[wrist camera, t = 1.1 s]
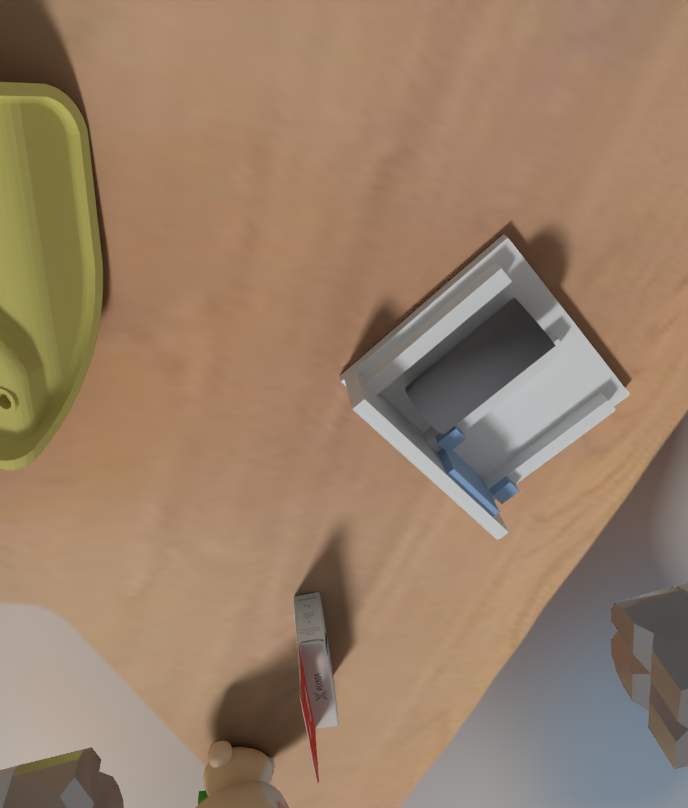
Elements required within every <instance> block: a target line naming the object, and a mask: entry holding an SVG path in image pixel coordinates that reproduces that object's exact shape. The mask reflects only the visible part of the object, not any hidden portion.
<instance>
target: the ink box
mask: <svg viewBox="0 0 688 808" xmlns="http://www.w3.org/2000/svg"><path fill="white" fill-rule="evenodd" d="M294 610H295V625H296V636H297V646H298V658H299V677H300V701H301V706H302V711H303V716H304V721H305V726H306V731H307V736H308V741H309V747H310V752H311V757H312V762H313V767H314V771H315V776H316V780H317V783H319V778H318V763H317V750H316V734H315V729H319V728H324V727H331V726H338V725H339V723H338V712H337V702H336V694H335V686H334V680H333V670H332V663H331V656H330V650H329V644H328V637H327V632H326V626H325V619H324V613H323V607H322V602H321V596H320V593H319V592H315V593H309V594H304V595H299V596H295V597H294Z"/></svg>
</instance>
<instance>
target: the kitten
mask: <svg viewBox="0 0 688 808" xmlns="http://www.w3.org/2000/svg"><path fill="white" fill-rule="evenodd" d="M208 760H209V763H208V764H207V766H206V768H205V771H204V786H205V789H206V790H205V791H200V792H199V798H198V806H197V807H196V808H289V807H288V805H287V803H286V801H285V799H284V797H283V796H282V794H281V793H280V792H279V791H278V790H277V789H276V788H275V787H274V786H272V785H270V782H271V778H272V775H273V772H274V760H273V759H272V758H271V757H267V756H266V755H265V754H264V753H262V752H261V751H258V750H255V749H252V748H246V747H234V748H232V747H231V745H230V743H229V742H227V741H218V742H215V743H214V744H212V746H211V747H210V749H209V753H208Z"/></svg>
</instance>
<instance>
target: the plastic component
mask: <svg viewBox="0 0 688 808" xmlns="http://www.w3.org/2000/svg"><path fill="white" fill-rule="evenodd" d="M102 297H103V263H102V254H101V245H100V236H99V227H98V218H97V209H96V200H95V191H94V182H93V173H92V164H91V155H90V146H89V137H88V130H87V127H86V124H85V121H84V118H83V116H82V114H81V113H80V111H79V109H78V108H77V106H76V104H75V103H74V102H73V101H72V100H71V99H70V98H69V97H68V95H66V94H65V93H63V92H62V91H61V90H59V89H58V88H56V87H53V86H50V85H48V84H39V83H17V82H0V468H1V469H5V470H17V469H19V468H22V467H25V466H27V465H28V464H30V463H31V462H32V461H34V460H35V459H36V458H37V457H38V455H39V454H40V453H41V452H42V451H43V450H44V448H45V447H46V446H47V444H48V443H49V442H50V441H51V439H52V438H53V436H54V435H55V433H56V432H57V431H58V429H59V428H60V426H61V425H62V423H63V421H64V419H65V418H66V416H67V414H68V412H69V411H70V409H71V407H72V405H73V403H74V401H75V399H76V397H77V395H78V393H79V390H80V388H81V385H82V383H83V381H84V378H85V376H86V373H87V370H88V367H89V364H90V361H91V358H92V355H93V352H94V347H95V343H96V339H97V335H98V331H99V325H100V317H101V310H102ZM7 397H8V398H9V399H10V401H9V400H8V399H7Z"/></svg>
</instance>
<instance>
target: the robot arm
mask: <svg viewBox="0 0 688 808" xmlns="http://www.w3.org/2000/svg"><path fill="white" fill-rule="evenodd" d="M611 621H612V623H613V624H614V626H615V627H616V629H617V630H618V631H617V633H616V634H615V635H614V636H613V638H612V639H611V649H612V650H611V652H612V657H613V661H614V664H615V668H616V671H617V674H618V675H619V678H620V680H621V682H622V684H623V686H624V688H625V690H626V691H627V693H628V695H629V696H630V698H631V700H632V701H633V702H635V703H637V704H638V705H640V706H642V707H644V708H645V709H647V710H649V724H648V727H649V729H650V731H651V732H652V734H653V735H654V737H655V739H656V741H657V742H658V744H659V745H660V747H661V748H662V750H663V752H664V753H665V755H666V757H667V758H668V760H669V761H670V763H671V765H672V766H673V768H674V769H677V768H681V767H685V766H688V583H687V584H683V585H680V586H677V587H669V588H666V589H662V590H659V591H655V592H652V593H648V594H645V595H642V596H638V597H634V598H631V599H628V600H624V601H621V602H617V603H614V605H613V607H612V608H611ZM100 763H101V759H100V757H99V756H98V755H97V754H96V752H95V751H94V750H93V748H87V749H83V750H79V751H75V752H71V753H67V754H63V755H59V756H55V757H51V758H47V759H43V760H39V761H35V762H31V763H27V764H22V765H18V766H15V767H11V768H7V769H3V770H0V808H124V805H123V798H122V795H121V792H120V789H119V786H118V784H117V783H116V781H115V780H114V778H113V777H112V776H110V775H107V774H104V773H102V772H99V769H100Z"/></svg>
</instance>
